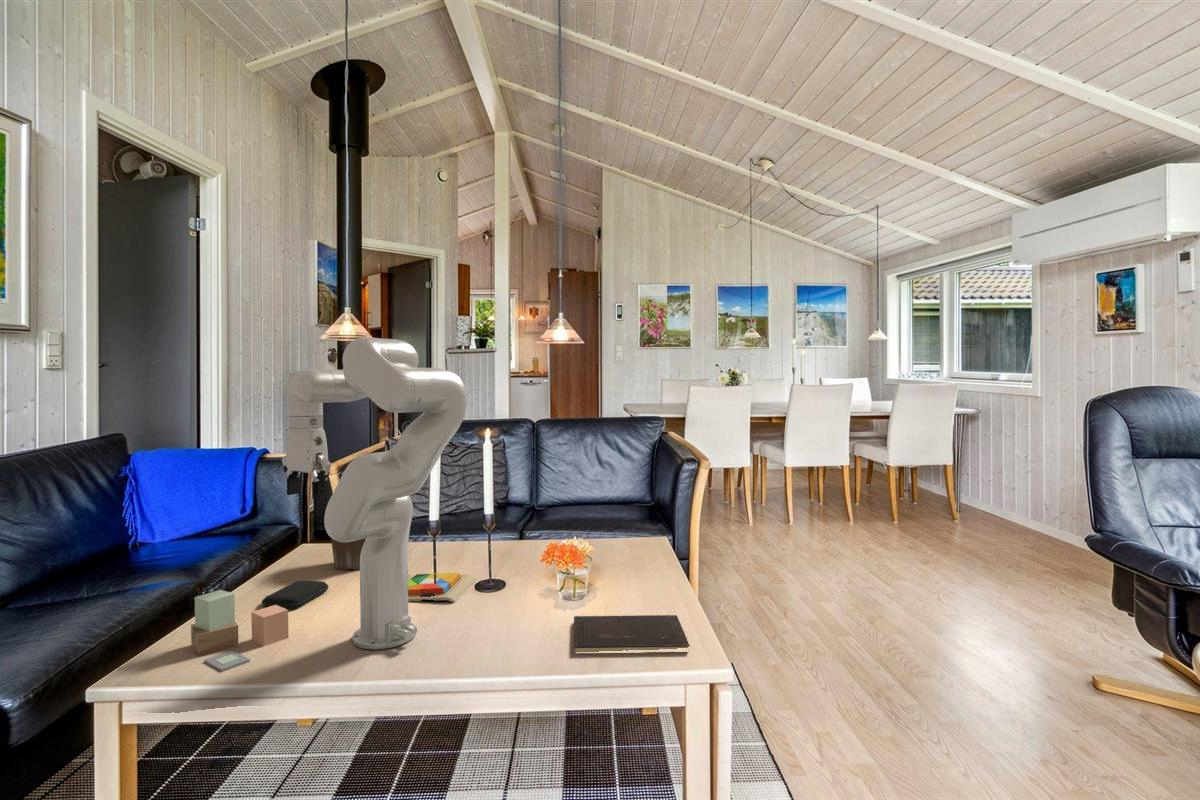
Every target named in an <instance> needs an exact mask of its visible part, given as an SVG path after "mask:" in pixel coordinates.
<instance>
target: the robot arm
mask: <svg viewBox="0 0 1200 800" xmlns="http://www.w3.org/2000/svg"><path fill="white" fill-rule="evenodd" d="M342 366H343V367H342V369H327V368H326V369H318V368H317V369H315V368H314V369H307V370H292V371H290V372H288V373H287V376H286V398H287V399H286V408H287V409H286V410H287V411H286V416H287V422H286V424H287V435H286V445H285V446H286V447H285V455H284V457H282V459H281V462H282V465H283V470H284V472H285V474H284V475H285V478H286V495H288V496H292V495H298V494H301V492H302V485H301V482H302V479H301V476H299V475H300V474H301V473H305V474H310V476H311V477H312V480H313V481H312V482H311V498H312V500H320V499H324V498H326V497H327V481H328V477H329V475H330V473H331V472H330V470H331V467H332V463H331V462H330V460H329V452H328V443H327V442H328V441H327V437H326V431H325V429H324V409H323V408H324V404H325V403H350V402H351V403H352V402H355V401H359V400H362V399H363V400H364V399H366V398H369V399H370V400H371V401H372V402H373V403H374V404H375V405H376V406H378V407H379V408H380V409H382V410H384V411H386V412H388V413H393V414H394V413H398V414H399V413H400V414H401V413H403V414H404V413H421V412H422V413H421V414H420V415H419V416H418V417H417V418H415V419H414V420H413V421H412V422H410V424H408V425H407V426H406V427H405V429H404V430H403V431H402V432H401V435H400V437H399V439H398V441H397V442H396V443H395V445H394V446H393V447H391V449H389V450H386V451H381V452H379V451H378V452H371V453H365V454H361V455H359V456H357V457H355V458H354V459H353V460H351V462H350V463H348V464H347V466H346V468H345V469H344V471H343V473H342V475H341V477H340V479H339V480H338V483H337V485H336V486H335V488H334V491H333V493H332V494H331V496H330V498H329V500H328V501H327V504H326V505H327V506H326V508H325V512H324V519H323V523H324V528H325V531H326V534H327V535H328V536H329V537H330V539H331V538H332V539H334V540H336V541H338V542H352V541H356V540H360V539H364V538H366V540H365V542H364V544H363V547H362V550H361V554H360V569H359V596H360V597H359V598H360V599H359V607H360V608H359V609H360V610H359V614H360V615H359V616H360V618H359V619H360V623H359V625H360V627H359V628H358V629H356V631H354V632H353V634H352V640H351V641H352V644H353V646H354V645H355V647H358V648H360V649H365V650H385V649H391V648H395V647H398V646H401V645H403V644H406V643H408V642H410V641H412V639H414V637H415V636H416V635H417V632H418V628H417V626H416V625H415V624H414V623H412V621H411V620H412V617H411V616H410V615H409V602H408V574H409V537H410V532H411V531H410V530H411V524H412V519H413V514H414V513H413V511H414V507H413V506H414V505H413V501H412V498H411V496H412V495H415V494H416V493H418V492H419V491H420V490H421V489H422V487H423V486H424V484H425V482H426V480H427V479H428V477H429V475H430V474H431V472H432V470H433V469H434V467H435V466H436V464H437V462H438V460H439V458H440V457H441V454H442V453H443V451H444V450H445V449H446V447H447V445H448V444H450V441H451V440H452V438H453V437H454V435H455V434H456V433H457V431H458V430H459V429H460V427H461V426H462V425H461V424H462V422H463V421H464V418H465V414H466V412H467V406H468V405H467V404H468V403H467V402H468V401H467V400H468V398H467V397H468V396H467V395H468V394H467V389H466V386H465V384H464V381H463V380H462V379H461V377H459V375H457V374H456V373H454V372H453V371H451V370H448V369H444V368H443V369H442V368H436V367H418V366H419V355H418V352H417V350H416V349H415V347H414V346H413V345H411V344H410V343H408V342H406V341H405V340H400V339H396V338H395V339H394V338H379V337H365V336H363V337H358V338H355V339H353V340H352V341H350V342H349V343H348V344H347V346H346V347H345V349H344V351H343V354H342Z"/></svg>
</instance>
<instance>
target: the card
mask: <svg viewBox="0 0 1200 800" xmlns="http://www.w3.org/2000/svg"><path fill="white" fill-rule="evenodd" d="M203 662H204V663H205V664H207V665H209V666H211V667H213V668H215V669H217V670H219V671H220V672H224V671H227V670H230V669H233V668H235V667H238V666H242V665H244V664H247V663H249V662H251V659H250V658H248V657H247V656H245V655H242V654H240V653H238V652H236V651H234V650H233V649H231V650H229V651H225V652H223V653H219V654H216V655H215V656H214V655H213V656H211V657H208V658H205V659H204V661H203Z"/></svg>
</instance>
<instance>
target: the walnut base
mask: <svg viewBox="0 0 1200 800" xmlns="http://www.w3.org/2000/svg"><path fill="white" fill-rule="evenodd" d="M190 642H191V643H190V644H191V645H190V646H191V647H192V649H193V651H194V652H195V654H196V656H197V657H202V656H206V655H210V654H213V653H217V652H221V651H225V650H229V649H233V648H236V647H237V648H238V647H239V625H238V623H237V622H236V621H235V623H233V624H230V625H227V626H224V627H221V628H218V629H215V630H212V631H207V630H204V629H201V628H198V627H195V623H191V624H190Z"/></svg>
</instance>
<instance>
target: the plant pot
mask: <svg viewBox="0 0 1200 800" xmlns="http://www.w3.org/2000/svg"><path fill="white" fill-rule="evenodd" d="M330 540H331V547H332V549H331V550H332V555H333V556H332V558H333V566H334V568H335V569H338V570H341V571H348V570H350V569H351V570H353V571H357V570H359V571H360V554H361V550H362V547H363V544H364V542H365V540H366V538H364V539H360V540H356V541H352V542H338V541H336V540H334V539H332V538H331V537H330Z"/></svg>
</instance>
